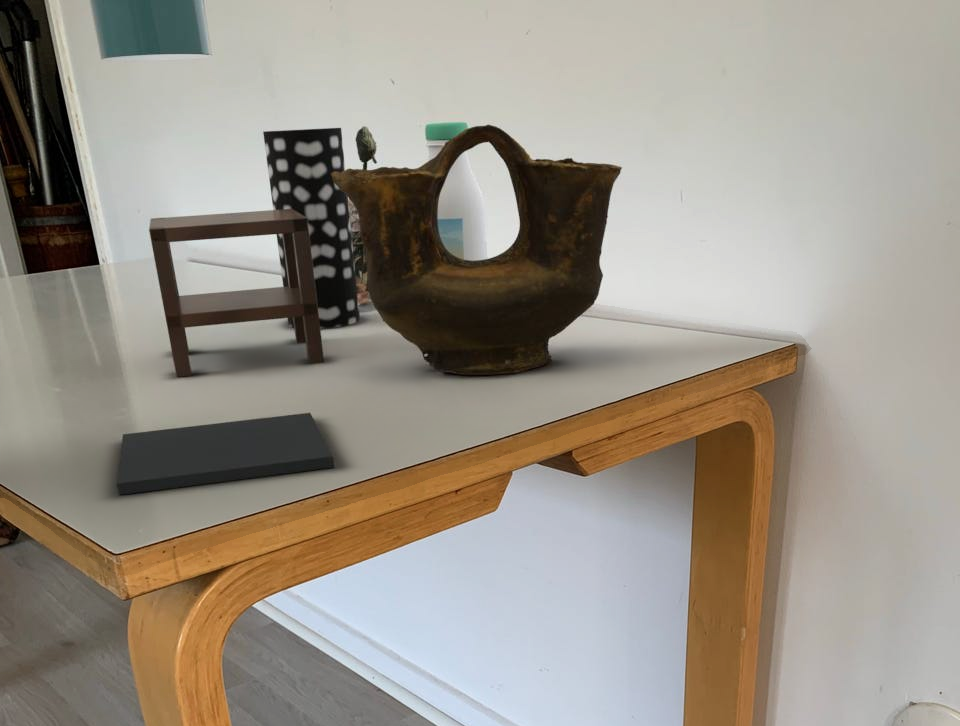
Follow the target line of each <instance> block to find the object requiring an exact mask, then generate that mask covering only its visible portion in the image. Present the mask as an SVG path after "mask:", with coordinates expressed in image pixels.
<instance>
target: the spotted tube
mask: <svg viewBox="0 0 960 726" xmlns="http://www.w3.org/2000/svg"><path fill="white" fill-rule="evenodd" d="M262 134H263V140H264V149H265V157H266V164H267V173H268V178H269V180H268V181H269V187H270V195H271V202H272V203H271V204H272V208H273V209H272V210H282V209H293V210H295V211H296V212H298V213H300V214H301V215H303V216H305V217H307V219H308V228H309V236H310V245H311V254H312V262H313V271H314V279H315V288H316V296H317V305H318V313H319V322H320V330H321V329H333V328H340V327H347V326H351V325H354V324H356V323H358V322H360V320H361V319H360V317H361V316H360V306H359V307H358V297H357V286H356V276H355V266H354V255H353V245H352V235H351V225H350V214H349V204H348V199H349V198H348V197H347V195H346V194H345V193H344V192H342V191H341V190H340V189H339V188H338V186H337V185H336V184H335V183H334V181H333V178H332V175H331V173H332V172H340V173H341V172H343V171H345V170H346V165H345V164H346V163H345V154H344V152H345V151H344V143H343V134H342V127H326V128H325V127H323V128H305V129H287V130H286V129H285V130H284V129H283V130H270V131H269V130H268V131H266V130H265V131H262ZM276 240H277V241H276V242H277V249H278V255H279V264H280V271H281V278H282V287H287V286H289V284H288V276H287V268H286V261H285V253H284V245H283V237H282V234H276ZM287 324H288V327H291V328H294V323H293V317H292V318H287Z"/></svg>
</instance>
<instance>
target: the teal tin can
mask: <svg viewBox="0 0 960 726" xmlns="http://www.w3.org/2000/svg"><path fill="white" fill-rule="evenodd" d="M89 4H90V10H91V14H92V15H91V16H92V19H93V25H94V30H95V36H96V40H97V45H98V50H99V55H100V60H102V61H104V62H123V63H125V62H127V63H128V62H129V63H130V62H131V63H132V62H134V63H135V62H142V63H143V62H165V61H166V62H168V61H185V60H186V61H187V60H195V59H207V58H210V57H212V56H213V54H212V47H211V39H210V32H209V27H208V26H209V25H208V19H207V13H206V12H207V11H206V5H205V0H89Z"/></svg>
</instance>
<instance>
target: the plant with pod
mask: <svg viewBox="0 0 960 726" xmlns="http://www.w3.org/2000/svg"><path fill="white" fill-rule="evenodd" d="M355 143H356V149H357V150H356V151H357V155H358V159H359V161H360V162H361V163H362V169H363V170H368V162H369V161H371V160H372V162H373V163H374V164H377V163H378V161H377V160H376V156H375V155H376V153H377V146H378V145H377V142H376V141H375V139H374V137H373V133H372V132H371V131H370V130H369V127H367V126H366V125H364V126H362V127H361V128H360V129H359V130H357V133H356V137H355ZM348 204H349V214H350V225H351V235H352V245H353V255H354V266H355V276H356V286H357V297H358V307H359V308H360V306H361V305H364V304H367V303H368V302H372V301H371V298H370V294H369V292H368V289H367V287H366V280H367V256H366V249H365V246H364V244H363V242H362V238H361V236H360V223H359V216H358V212H357V210H356V208H355V206H354V204H353V203H352V202H351V201H350V200H349V198H348Z"/></svg>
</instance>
